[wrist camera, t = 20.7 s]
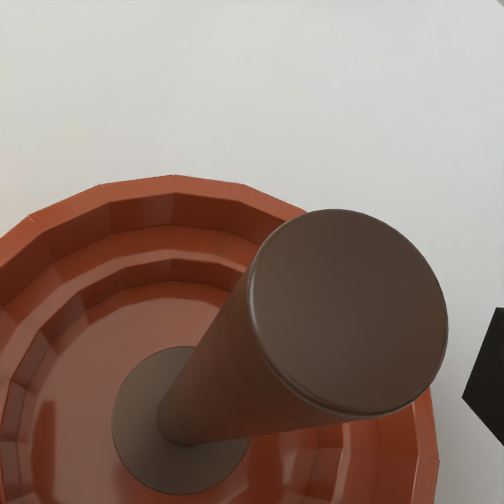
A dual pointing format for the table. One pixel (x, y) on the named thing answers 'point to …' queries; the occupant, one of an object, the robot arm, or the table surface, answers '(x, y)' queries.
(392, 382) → the brown joystick
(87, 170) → the table surface
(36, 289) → the bowl
